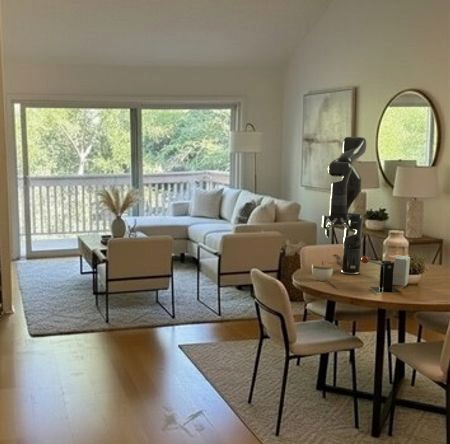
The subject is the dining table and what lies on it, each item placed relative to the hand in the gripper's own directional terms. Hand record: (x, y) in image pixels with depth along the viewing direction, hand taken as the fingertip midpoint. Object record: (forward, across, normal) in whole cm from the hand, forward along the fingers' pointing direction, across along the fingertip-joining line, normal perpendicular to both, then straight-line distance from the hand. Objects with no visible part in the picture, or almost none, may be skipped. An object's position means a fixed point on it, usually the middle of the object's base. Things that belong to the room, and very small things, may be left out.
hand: (336, 237), depth 272 cm
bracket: (+26, -24, +4) cm, 35 cm away
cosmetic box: (+26, -35, -8) cm, 45 cm away
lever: (+13, -18, +4) cm, 22 cm away
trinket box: (+26, +1, -20) cm, 33 cm away
